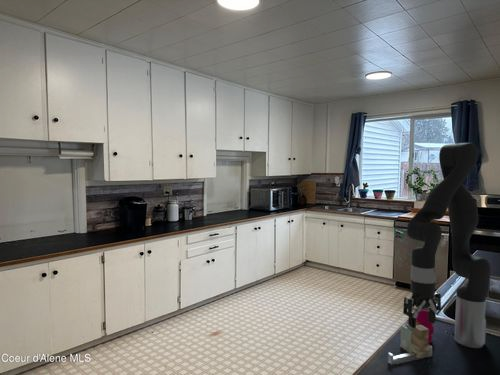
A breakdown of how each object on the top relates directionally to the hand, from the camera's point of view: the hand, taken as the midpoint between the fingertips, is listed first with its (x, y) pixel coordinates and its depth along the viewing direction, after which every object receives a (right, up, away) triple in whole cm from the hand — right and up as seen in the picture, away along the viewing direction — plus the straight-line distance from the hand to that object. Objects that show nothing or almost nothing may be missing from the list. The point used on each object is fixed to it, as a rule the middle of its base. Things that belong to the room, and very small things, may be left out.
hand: (422, 324), depth 117 cm
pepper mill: (+7, -11, +13) cm, 19 cm away
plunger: (0, -7, +6) cm, 9 cm away
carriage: (0, -11, +1) cm, 11 cm away
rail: (-4, -12, 0) cm, 12 cm away
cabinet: (0, -11, +7) cm, 13 cm away
